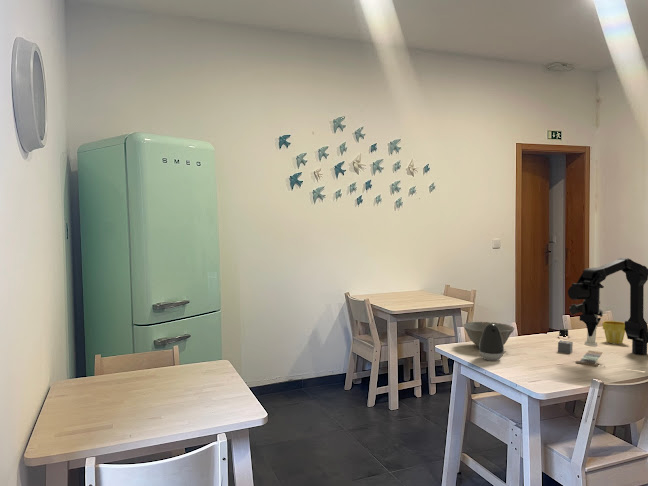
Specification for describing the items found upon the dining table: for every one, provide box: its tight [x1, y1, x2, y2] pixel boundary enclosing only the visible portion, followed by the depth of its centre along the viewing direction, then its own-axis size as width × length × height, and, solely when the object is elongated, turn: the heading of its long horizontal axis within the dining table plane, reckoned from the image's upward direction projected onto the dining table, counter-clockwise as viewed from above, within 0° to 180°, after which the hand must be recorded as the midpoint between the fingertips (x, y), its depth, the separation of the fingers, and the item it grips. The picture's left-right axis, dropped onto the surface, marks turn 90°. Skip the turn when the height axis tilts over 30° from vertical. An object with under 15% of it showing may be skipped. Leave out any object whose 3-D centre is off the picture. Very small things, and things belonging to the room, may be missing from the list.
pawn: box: [584, 326, 598, 348], centre depth 212 cm, size 5×5×10 cm
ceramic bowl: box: [463, 321, 515, 348], centre depth 233 cm, size 22×23×10 cm
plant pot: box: [602, 320, 626, 345], centre depth 245 cm, size 10×10×10 cm
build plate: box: [558, 328, 569, 337], centre depth 257 cm, size 12×7×5 cm, turn 135°
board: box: [575, 349, 604, 367], centre depth 215 cm, size 26×8×1 cm, turn 144°
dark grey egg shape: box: [478, 324, 505, 362], centre depth 212 cm, size 10×10×15 cm
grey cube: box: [557, 339, 573, 354], centre depth 224 cm, size 5×5×5 cm
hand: (591, 335), depth 212 cm, fingers closed on pawn, 3 cm apart
